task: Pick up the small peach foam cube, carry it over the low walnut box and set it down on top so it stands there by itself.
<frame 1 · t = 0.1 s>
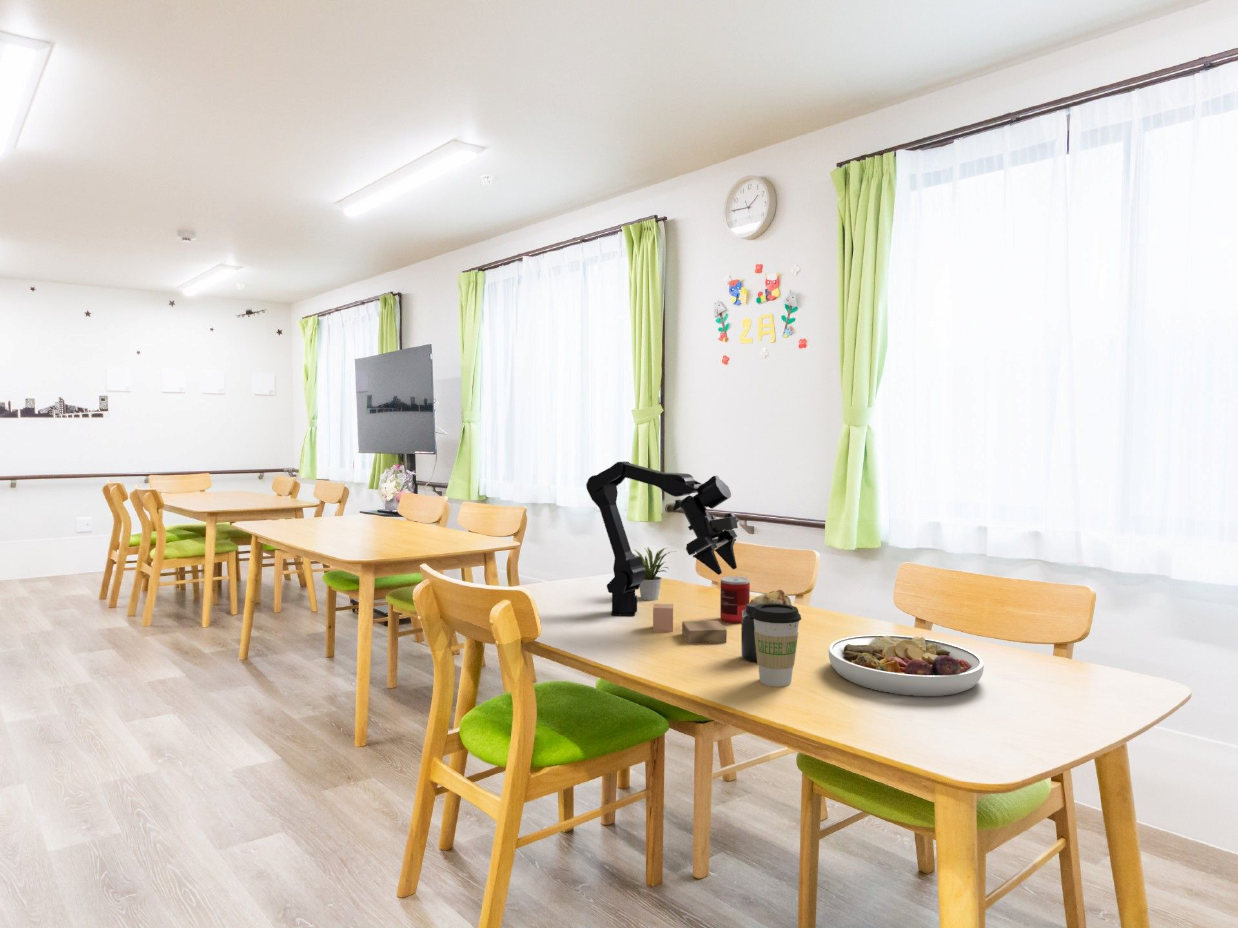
hand: (727, 571, 199), 15 cm above the table, tool tilted 30°, fingers open, 9 cm apart
coffee cup: (775, 682, 158), on the table
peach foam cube: (663, 629, 200), on the table
bowl: (903, 678, 163), on the table
pastry: (771, 619, 212), on the table
supplement bottle: (756, 659, 174), on the table
house plant: (654, 598, 236), on the table
walnut box: (703, 639, 191), on the table
canned food: (734, 620, 209), on the table
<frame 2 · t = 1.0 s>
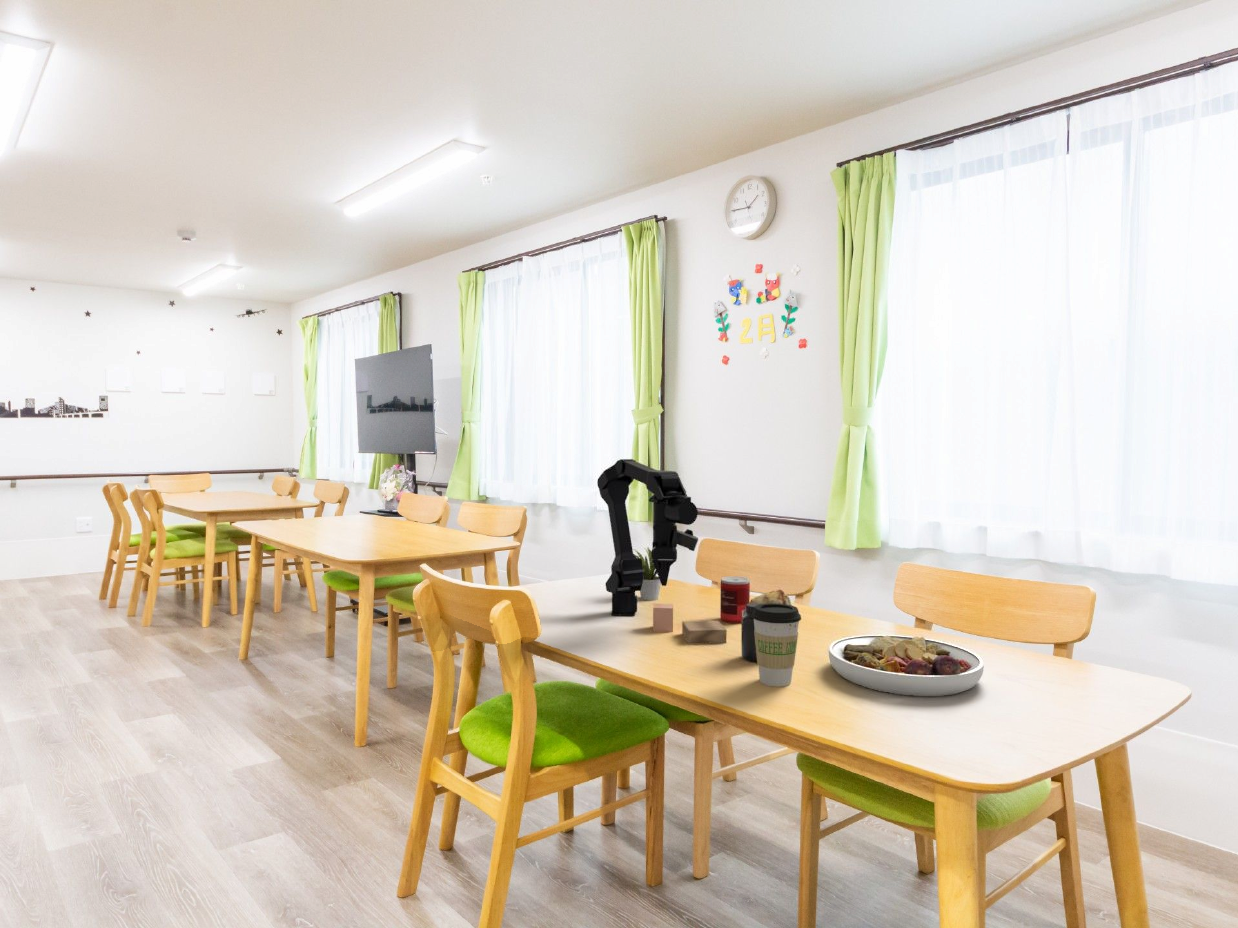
hand: (664, 582, 199), 12 cm above the table, tool pointing down, fingers open, 9 cm apart
nothing on the table moved.
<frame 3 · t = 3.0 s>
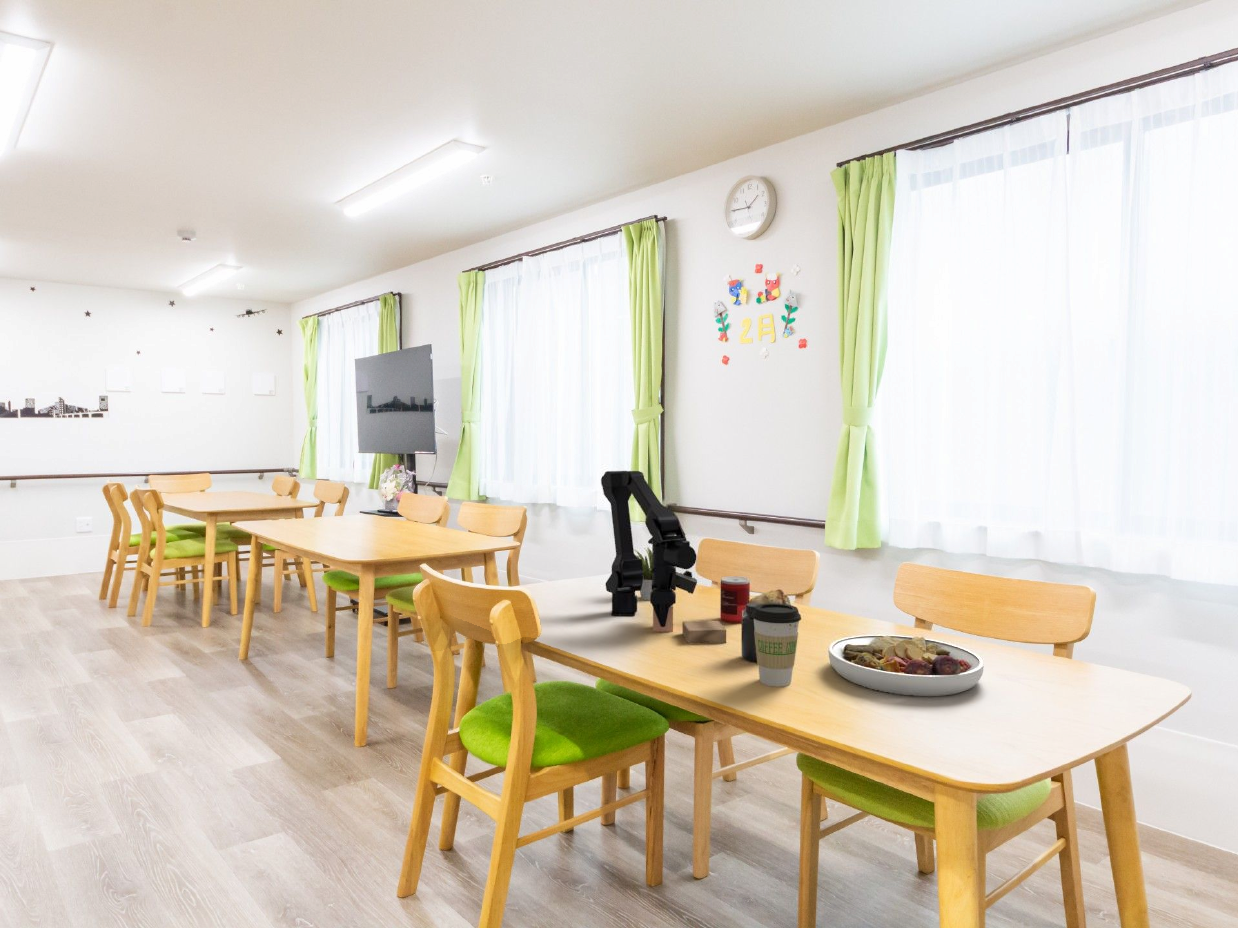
hand: (663, 624, 200), 1 cm above the table, tool pointing down, fingers closed on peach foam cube, 5 cm apart
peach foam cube: (663, 628, 200), on the table, touching gripper
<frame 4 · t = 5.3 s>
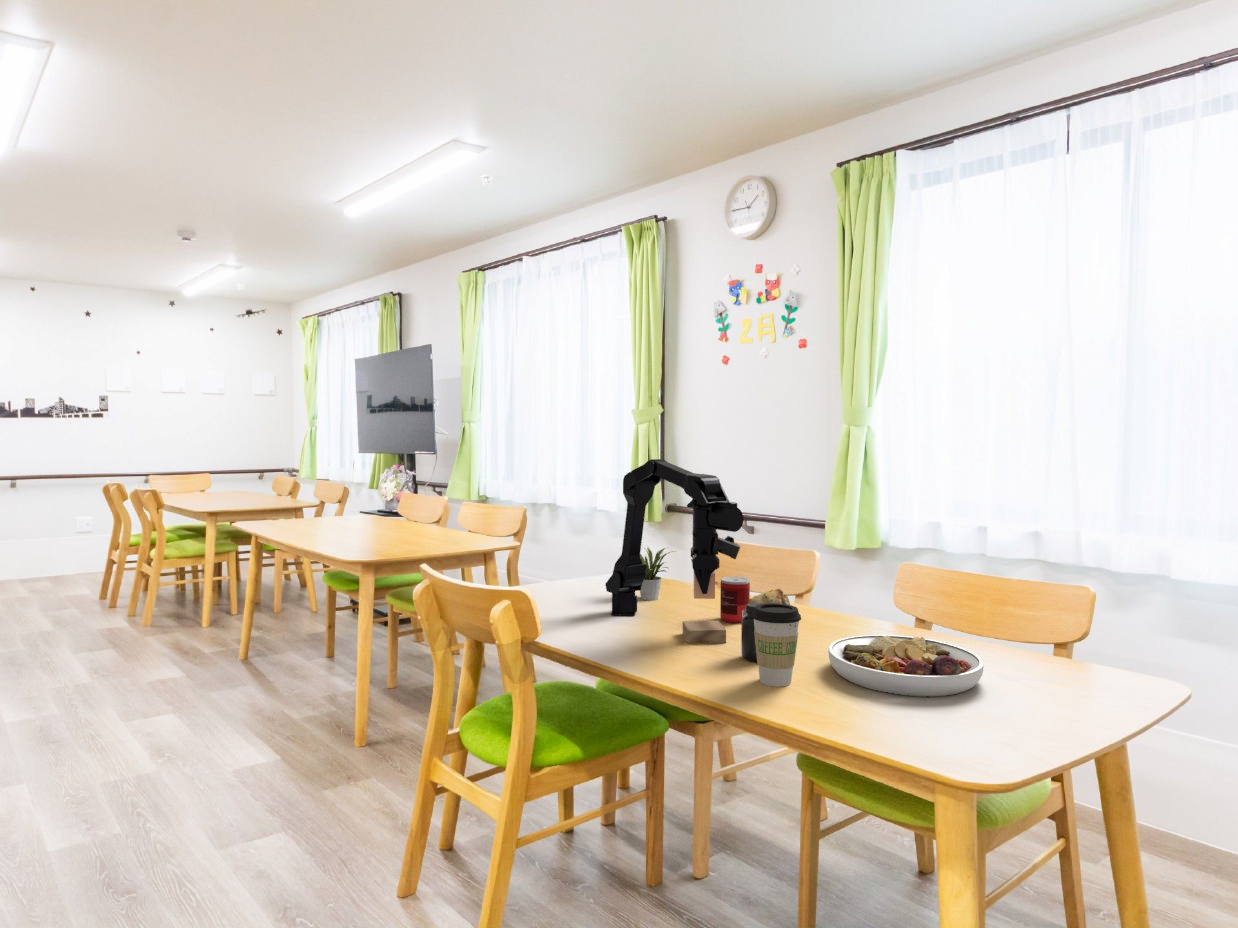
hand: (704, 591, 191), 11 cm above the table, tool pointing down, fingers closed on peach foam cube, 5 cm apart
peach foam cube: (704, 596, 191), point 10 cm above the table, touching gripper
when the fingers open (5 cm above the table, at t = 7.4 s): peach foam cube drops 1 cm, resting on walnut box.
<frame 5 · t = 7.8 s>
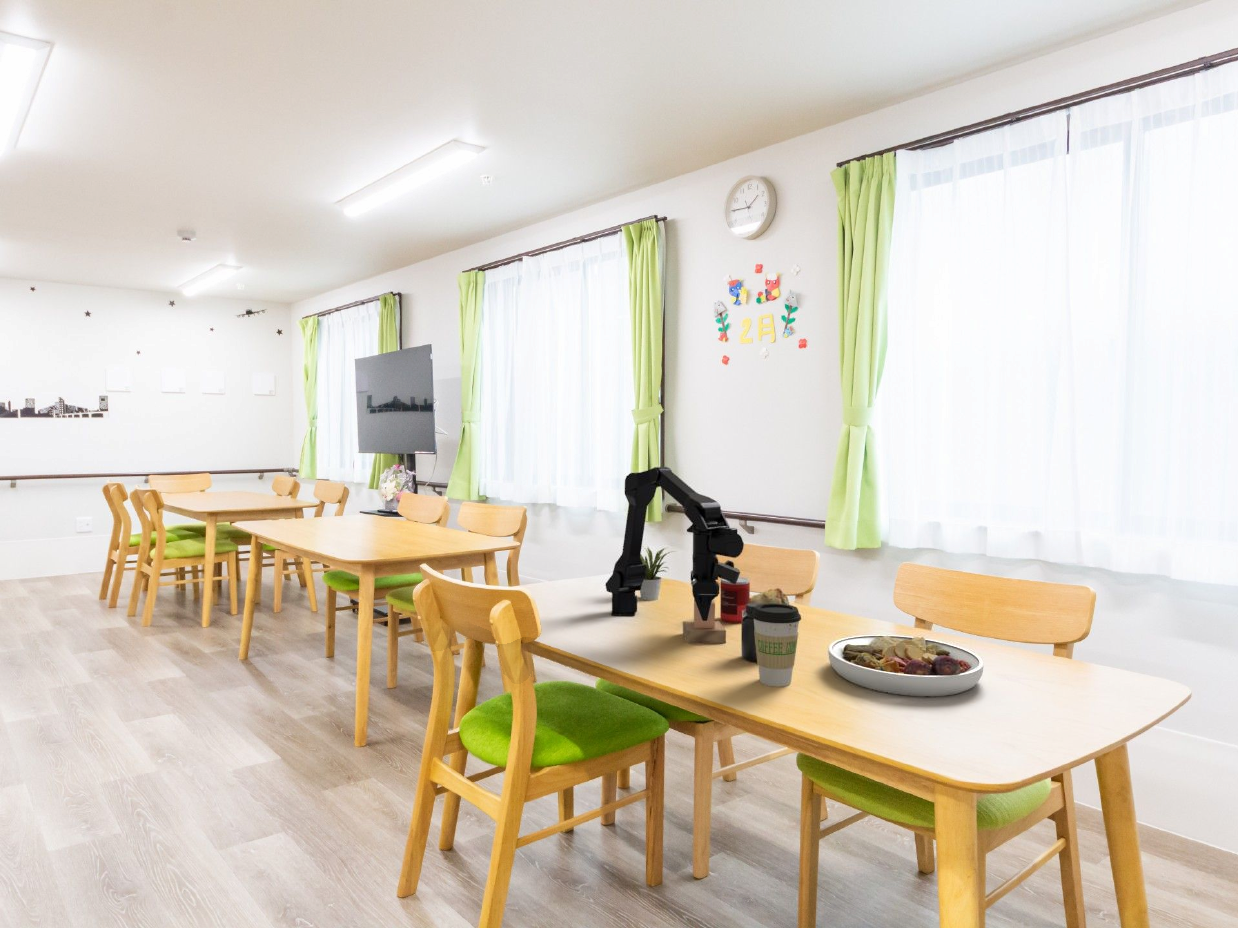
hand: (703, 616, 191), 5 cm above the table, tool pointing down, fingers open, 9 cm apart
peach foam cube: (704, 625, 191), point 3 cm above the table, touching walnut box
walnut box: (703, 639, 191), on the table, touching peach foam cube
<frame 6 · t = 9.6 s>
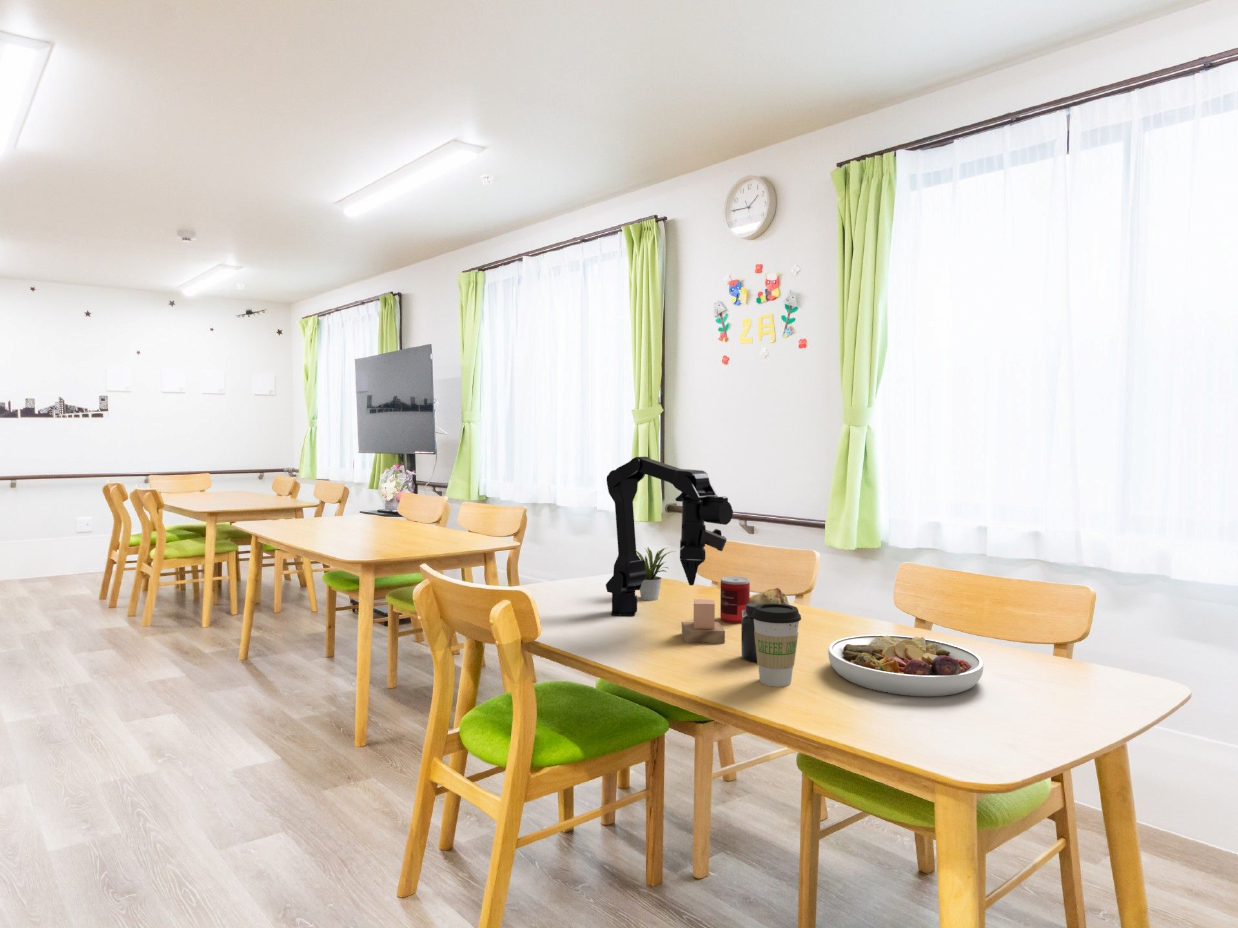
hand: (691, 581, 199), 12 cm above the table, tool pointing down, fingers open, 9 cm apart
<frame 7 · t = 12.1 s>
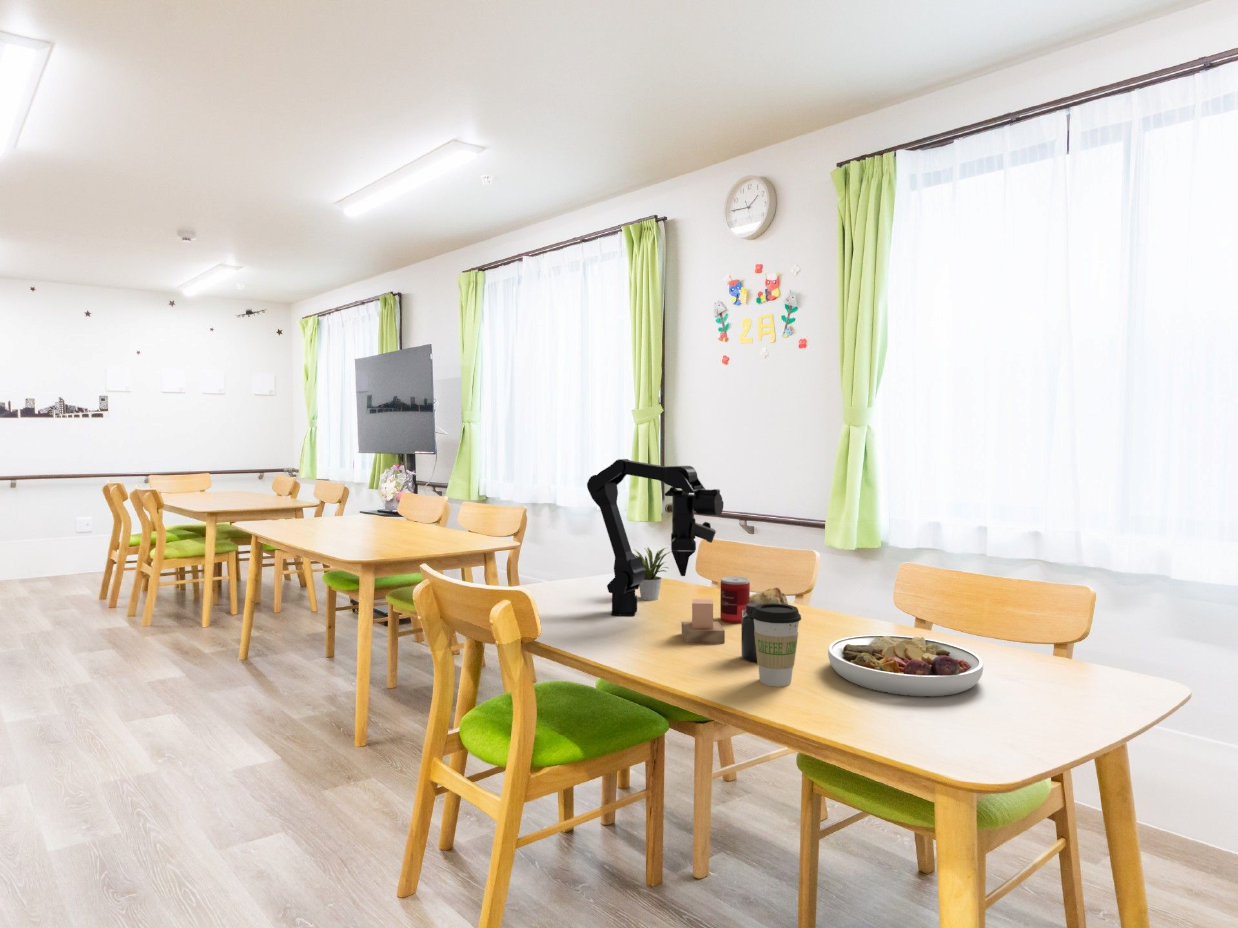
hand: (682, 572, 207), 13 cm above the table, tool pointing down, fingers open, 9 cm apart
at the end: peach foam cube 0.3 cm off-centre on the walnut box, point 3.5 cm above the walnut box's base; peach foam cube tilted 0°; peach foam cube touching nothing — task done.
